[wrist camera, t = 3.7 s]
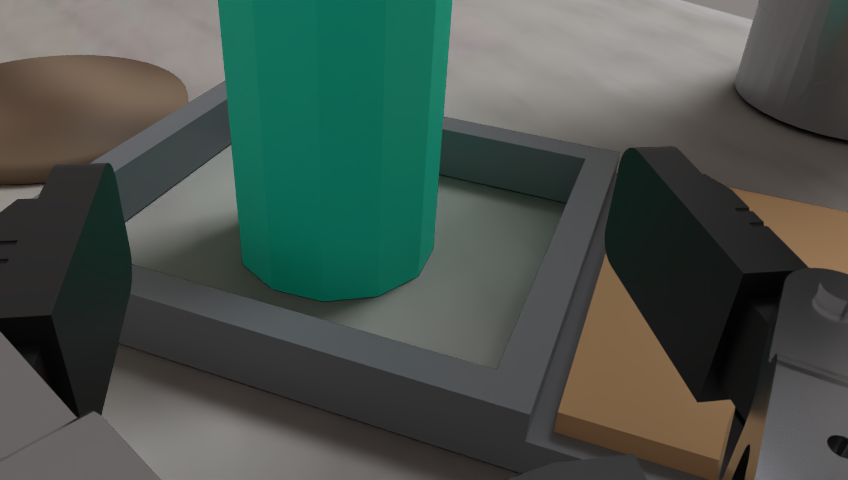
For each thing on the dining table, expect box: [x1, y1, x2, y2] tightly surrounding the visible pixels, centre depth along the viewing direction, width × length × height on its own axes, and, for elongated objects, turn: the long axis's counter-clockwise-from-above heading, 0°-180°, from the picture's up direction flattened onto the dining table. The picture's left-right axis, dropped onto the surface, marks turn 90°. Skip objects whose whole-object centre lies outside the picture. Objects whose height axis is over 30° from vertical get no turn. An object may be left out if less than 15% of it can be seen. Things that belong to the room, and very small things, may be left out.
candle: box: [218, 0, 452, 302], centre depth 20 cm, size 6×6×12 cm
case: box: [32, 81, 848, 480], centre depth 21 cm, size 13×30×2 cm, turn 70°
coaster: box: [0, 55, 188, 184], centre depth 29 cm, size 10×10×1 cm
